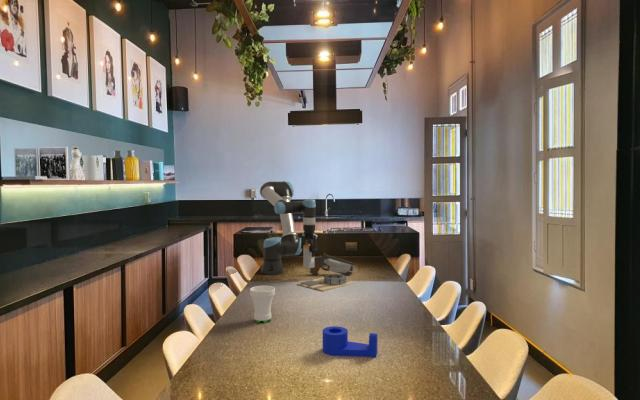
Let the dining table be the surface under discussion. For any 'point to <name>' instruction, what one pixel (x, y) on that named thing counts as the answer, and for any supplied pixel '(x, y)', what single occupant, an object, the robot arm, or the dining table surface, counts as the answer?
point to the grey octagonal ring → (334, 279)
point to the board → (324, 285)
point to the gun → (332, 265)
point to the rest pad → (311, 283)
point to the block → (307, 257)
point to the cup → (262, 302)
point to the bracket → (347, 343)
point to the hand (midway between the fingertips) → (308, 261)
